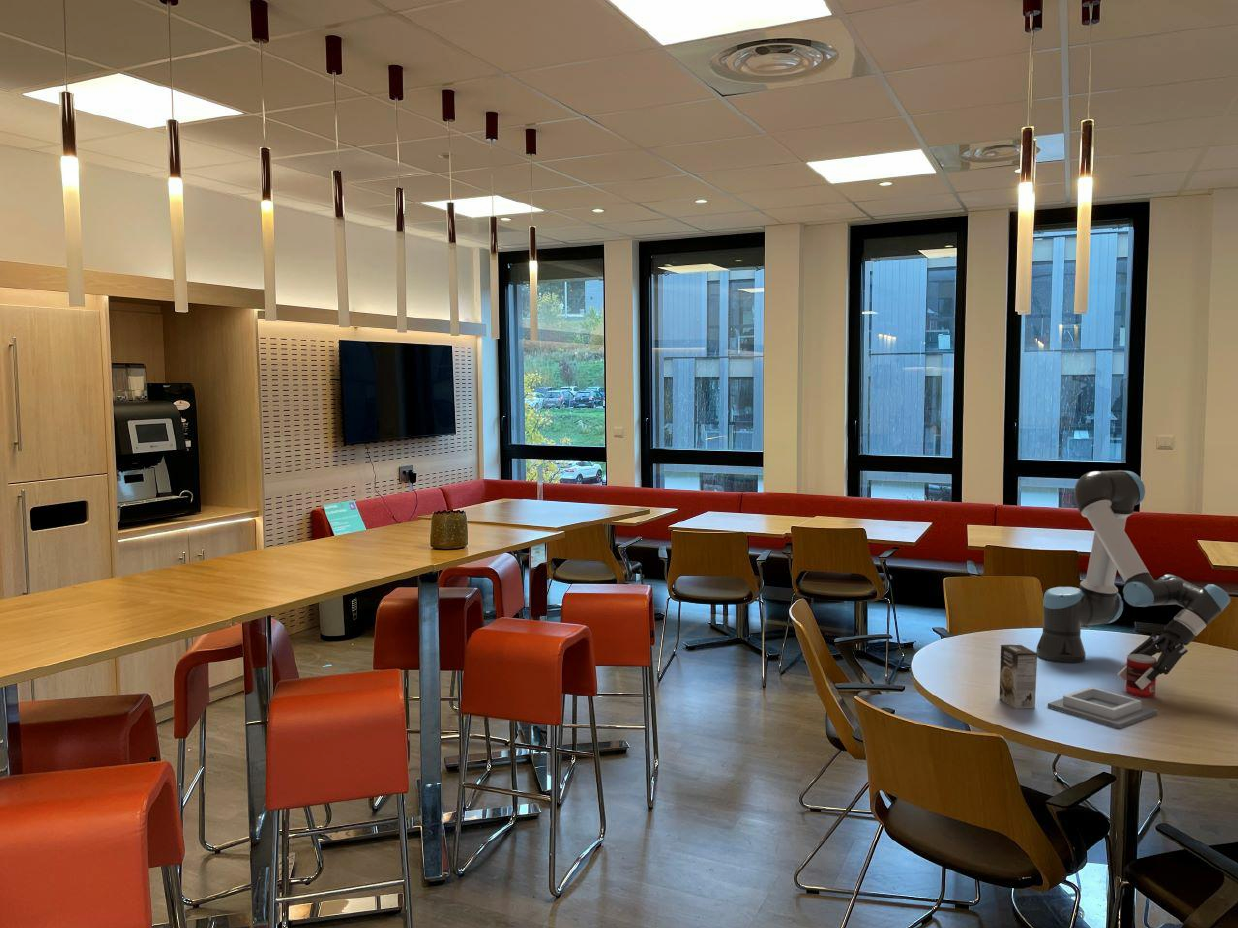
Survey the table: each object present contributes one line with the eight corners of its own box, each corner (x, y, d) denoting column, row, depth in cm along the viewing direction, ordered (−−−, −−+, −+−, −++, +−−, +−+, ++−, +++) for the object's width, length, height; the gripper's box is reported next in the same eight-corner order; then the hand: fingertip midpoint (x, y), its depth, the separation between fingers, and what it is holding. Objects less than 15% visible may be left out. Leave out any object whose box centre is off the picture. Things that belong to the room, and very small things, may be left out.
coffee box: (998, 698, 265) (999, 644, 264) (1019, 697, 266) (1021, 643, 265) (1014, 708, 256) (1016, 652, 255) (1036, 708, 257) (1038, 652, 256)
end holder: (1047, 707, 257) (1048, 694, 257) (1086, 694, 268) (1086, 682, 268) (1118, 728, 241) (1119, 715, 240) (1156, 714, 252) (1157, 701, 251)
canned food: (1151, 690, 272) (1153, 654, 272) (1157, 698, 265) (1159, 662, 264) (1123, 688, 275) (1124, 652, 274) (1128, 696, 267) (1130, 659, 267)
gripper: (1217, 645, 259) (1160, 701, 260) (1169, 627, 280) (1116, 679, 280) (1200, 627, 259) (1143, 683, 259) (1153, 611, 279) (1101, 663, 279)
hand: (1129, 681), depth 269 cm, fingers closed on canned food, 8 cm apart
